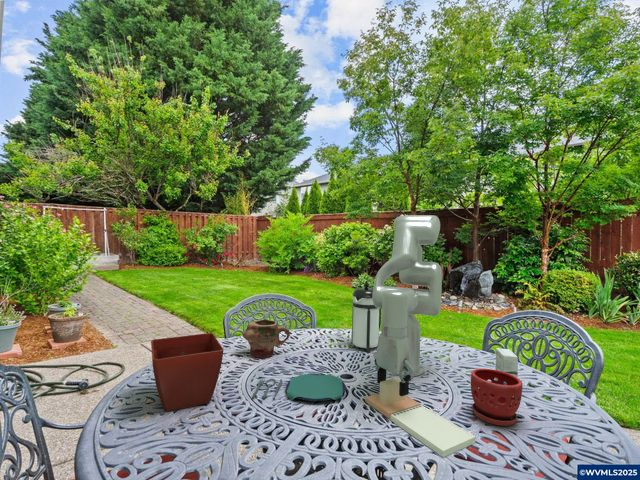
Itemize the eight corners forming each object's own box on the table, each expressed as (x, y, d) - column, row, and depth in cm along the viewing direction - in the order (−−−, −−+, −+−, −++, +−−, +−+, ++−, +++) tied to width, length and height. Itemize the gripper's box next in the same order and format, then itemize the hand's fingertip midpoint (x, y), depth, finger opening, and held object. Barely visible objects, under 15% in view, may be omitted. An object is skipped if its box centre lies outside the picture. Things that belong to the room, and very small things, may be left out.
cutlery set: (347, 407, 101) (347, 399, 101) (248, 404, 102) (248, 396, 102) (345, 379, 121) (345, 373, 121) (262, 377, 122) (262, 371, 122)
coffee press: (386, 353, 148) (388, 285, 147) (350, 352, 148) (351, 284, 147) (380, 341, 165) (381, 280, 165) (347, 340, 165) (348, 279, 165)
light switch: (365, 401, 104) (365, 377, 104) (394, 393, 110) (395, 370, 110) (389, 418, 94) (390, 392, 94) (420, 408, 100) (420, 383, 100)
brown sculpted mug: (288, 349, 151) (289, 318, 150) (290, 359, 138) (291, 325, 138) (243, 350, 148) (243, 318, 147) (240, 360, 136) (241, 326, 135)
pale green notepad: (390, 420, 94) (390, 414, 94) (420, 409, 100) (421, 404, 100) (443, 457, 78) (443, 450, 78) (475, 442, 84) (475, 436, 84)
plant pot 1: (150, 421, 90) (152, 359, 90) (149, 391, 107) (150, 339, 107) (223, 406, 99) (224, 349, 99) (211, 381, 116) (212, 332, 116)
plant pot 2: (520, 435, 88) (522, 390, 88) (466, 420, 95) (467, 378, 95) (521, 414, 99) (523, 373, 99) (473, 401, 106) (474, 363, 106)
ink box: (518, 391, 114) (519, 356, 114) (502, 389, 115) (503, 355, 115) (509, 380, 122) (510, 348, 122) (494, 379, 123) (495, 347, 123)
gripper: (366, 326, 107) (364, 380, 107) (405, 340, 92) (403, 403, 92) (384, 324, 111) (382, 376, 111) (424, 337, 96) (423, 397, 96)
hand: (392, 388), depth 101 cm, fingers open, 9 cm apart
